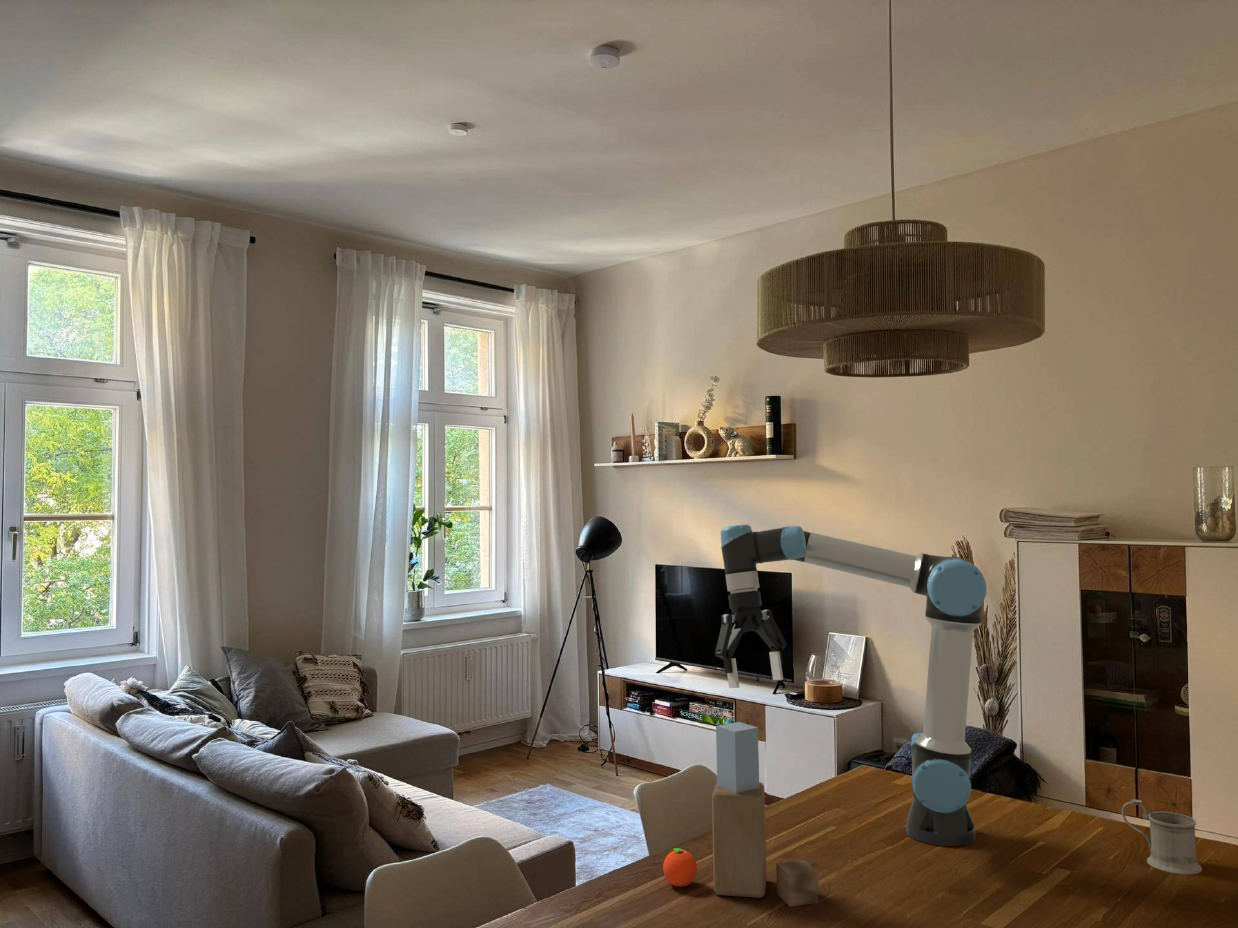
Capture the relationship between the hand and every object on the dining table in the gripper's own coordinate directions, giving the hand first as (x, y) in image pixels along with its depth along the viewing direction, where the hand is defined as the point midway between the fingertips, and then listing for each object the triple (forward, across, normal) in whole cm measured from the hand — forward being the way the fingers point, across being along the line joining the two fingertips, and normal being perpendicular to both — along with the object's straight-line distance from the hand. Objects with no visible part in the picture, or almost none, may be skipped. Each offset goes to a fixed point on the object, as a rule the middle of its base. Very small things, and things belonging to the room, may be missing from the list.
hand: (756, 683), depth 208 cm
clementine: (+36, +29, +1) cm, 47 cm away
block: (+38, +20, +10) cm, 44 cm away
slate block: (+18, +20, +13) cm, 30 cm away
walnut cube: (+40, +15, +20) cm, 47 cm away
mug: (+46, -60, +52) cm, 91 cm away
